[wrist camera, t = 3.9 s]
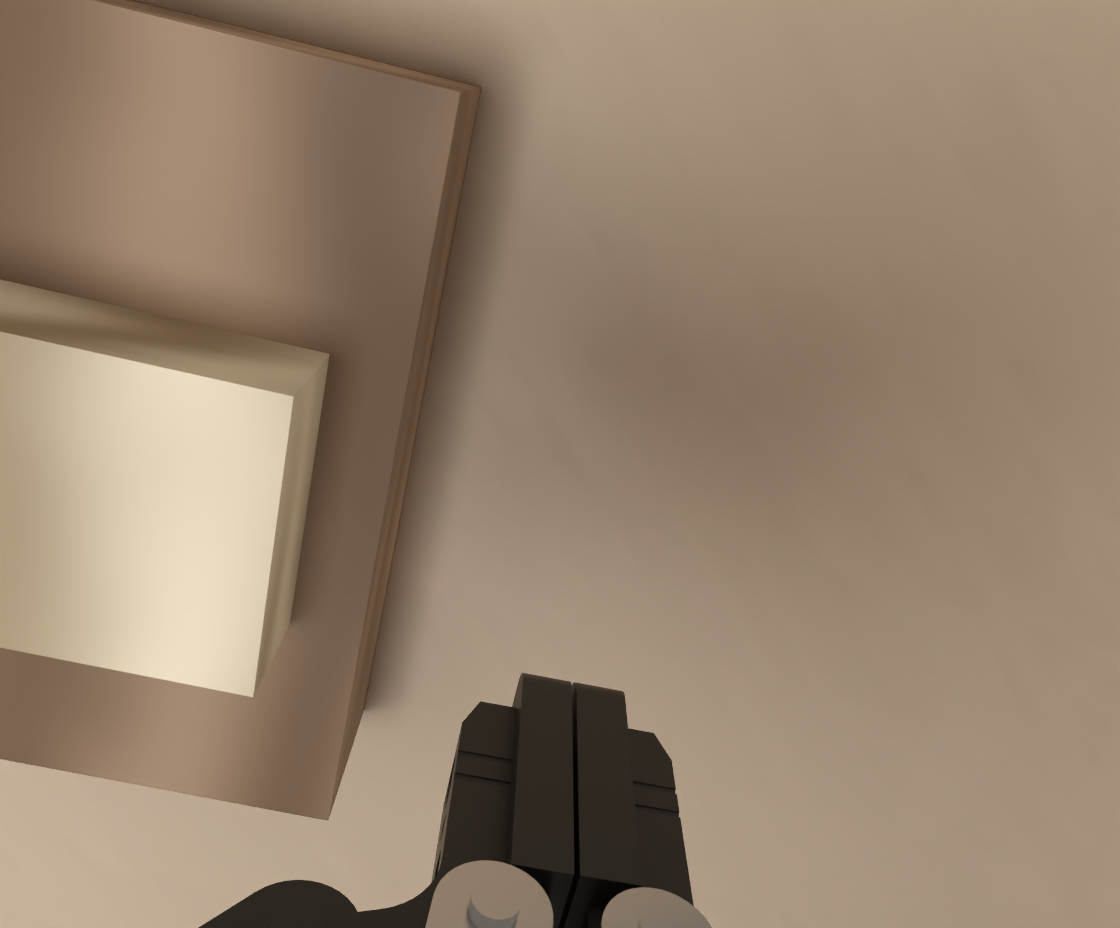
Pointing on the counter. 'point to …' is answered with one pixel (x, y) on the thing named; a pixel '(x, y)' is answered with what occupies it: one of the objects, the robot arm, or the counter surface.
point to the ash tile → (150, 488)
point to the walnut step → (246, 308)
